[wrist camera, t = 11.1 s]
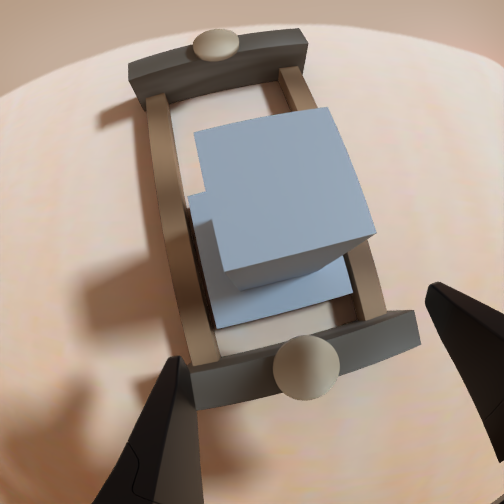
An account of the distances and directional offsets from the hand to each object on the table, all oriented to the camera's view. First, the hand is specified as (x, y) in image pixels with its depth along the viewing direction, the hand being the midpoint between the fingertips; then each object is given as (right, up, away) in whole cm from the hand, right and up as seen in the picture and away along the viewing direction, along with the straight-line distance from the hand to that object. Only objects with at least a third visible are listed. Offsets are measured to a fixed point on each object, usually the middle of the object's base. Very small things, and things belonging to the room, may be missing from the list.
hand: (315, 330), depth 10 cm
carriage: (-1, +3, +10) cm, 10 cm away
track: (-2, +6, +10) cm, 12 cm away
